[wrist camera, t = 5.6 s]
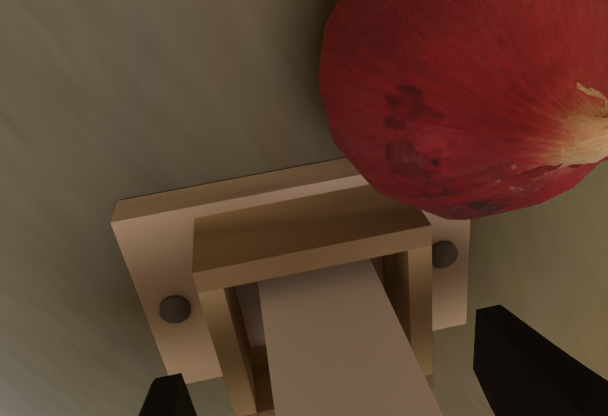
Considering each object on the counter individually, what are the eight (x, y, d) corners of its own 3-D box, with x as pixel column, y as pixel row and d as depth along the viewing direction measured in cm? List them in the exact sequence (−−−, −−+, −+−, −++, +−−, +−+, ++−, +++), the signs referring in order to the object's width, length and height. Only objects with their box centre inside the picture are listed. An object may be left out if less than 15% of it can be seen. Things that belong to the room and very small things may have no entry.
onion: (434, 166, 16) (611, 359, 9) (259, 96, 14) (312, 273, 7) (549, -24, 14) (904, 36, 7) (360, -140, 12) (584, -222, 5)
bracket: (451, 300, 19) (501, 380, 15) (175, 359, 18) (167, 456, 15) (455, 136, 15) (519, 194, 12) (117, 200, 15) (91, 280, 11)
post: (363, 306, 16) (472, 588, 10) (270, 326, 16) (315, 627, 9) (355, 228, 15) (479, 495, 8) (253, 248, 15) (291, 540, 8)
